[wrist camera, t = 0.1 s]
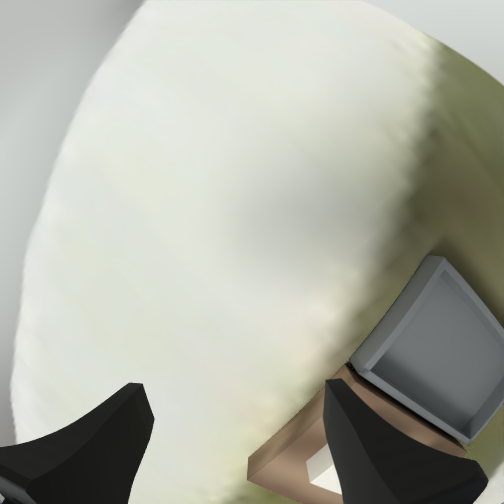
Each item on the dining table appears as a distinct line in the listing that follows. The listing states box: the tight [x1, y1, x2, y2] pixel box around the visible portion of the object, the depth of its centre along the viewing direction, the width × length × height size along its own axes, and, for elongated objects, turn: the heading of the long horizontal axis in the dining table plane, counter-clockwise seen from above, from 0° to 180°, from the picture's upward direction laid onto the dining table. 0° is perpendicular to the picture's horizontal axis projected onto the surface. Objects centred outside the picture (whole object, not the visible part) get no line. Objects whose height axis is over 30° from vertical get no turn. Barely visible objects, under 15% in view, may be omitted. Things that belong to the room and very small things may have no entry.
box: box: [349, 255, 504, 446], centre depth 20 cm, size 10×18×2 cm, turn 52°
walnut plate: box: [247, 364, 467, 504], centre depth 20 cm, size 12×18×3 cm, turn 52°
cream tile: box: [306, 443, 342, 495], centre depth 17 cm, size 5×5×2 cm
